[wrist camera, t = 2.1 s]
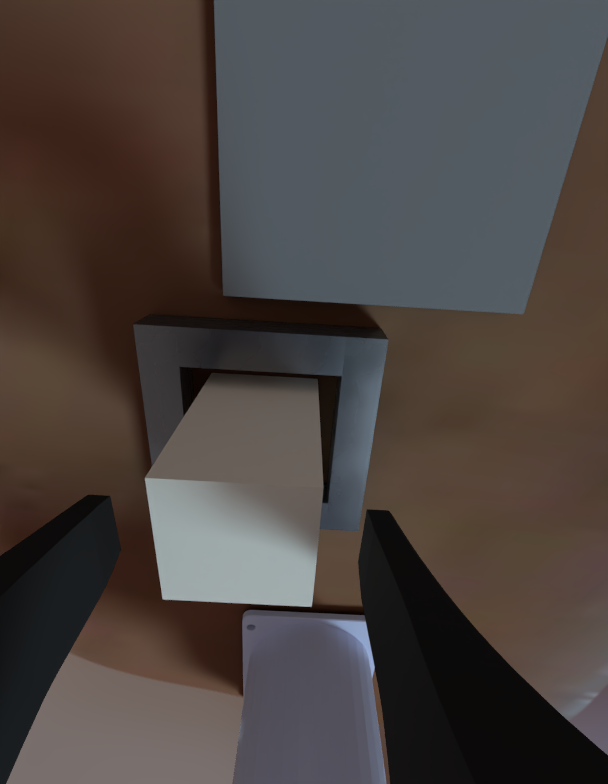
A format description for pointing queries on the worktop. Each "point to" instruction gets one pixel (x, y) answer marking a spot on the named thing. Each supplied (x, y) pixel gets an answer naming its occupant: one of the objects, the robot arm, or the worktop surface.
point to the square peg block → (241, 493)
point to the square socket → (271, 354)
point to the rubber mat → (397, 145)
